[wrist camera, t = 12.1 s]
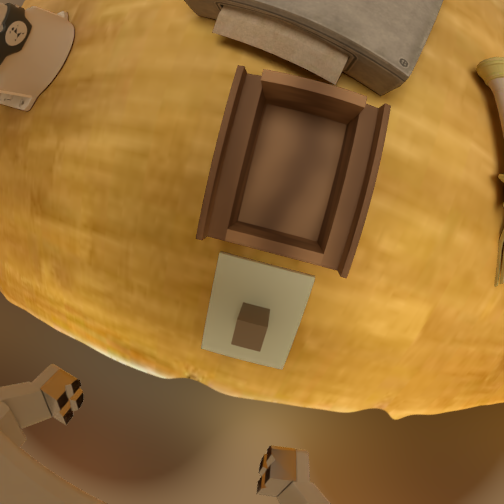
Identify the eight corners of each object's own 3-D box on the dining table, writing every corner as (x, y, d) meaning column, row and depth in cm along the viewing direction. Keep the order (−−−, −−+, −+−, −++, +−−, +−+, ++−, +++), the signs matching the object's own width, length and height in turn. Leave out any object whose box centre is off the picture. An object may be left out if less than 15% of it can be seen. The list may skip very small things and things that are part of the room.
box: (218, 224, 28) (195, 238, 21) (250, 94, 24) (237, 65, 17) (331, 253, 28) (346, 278, 20) (364, 124, 24) (390, 105, 17)
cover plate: (203, 343, 33) (191, 367, 28) (221, 250, 29) (209, 263, 24) (282, 363, 32) (281, 391, 27) (314, 274, 29) (319, 292, 24)
